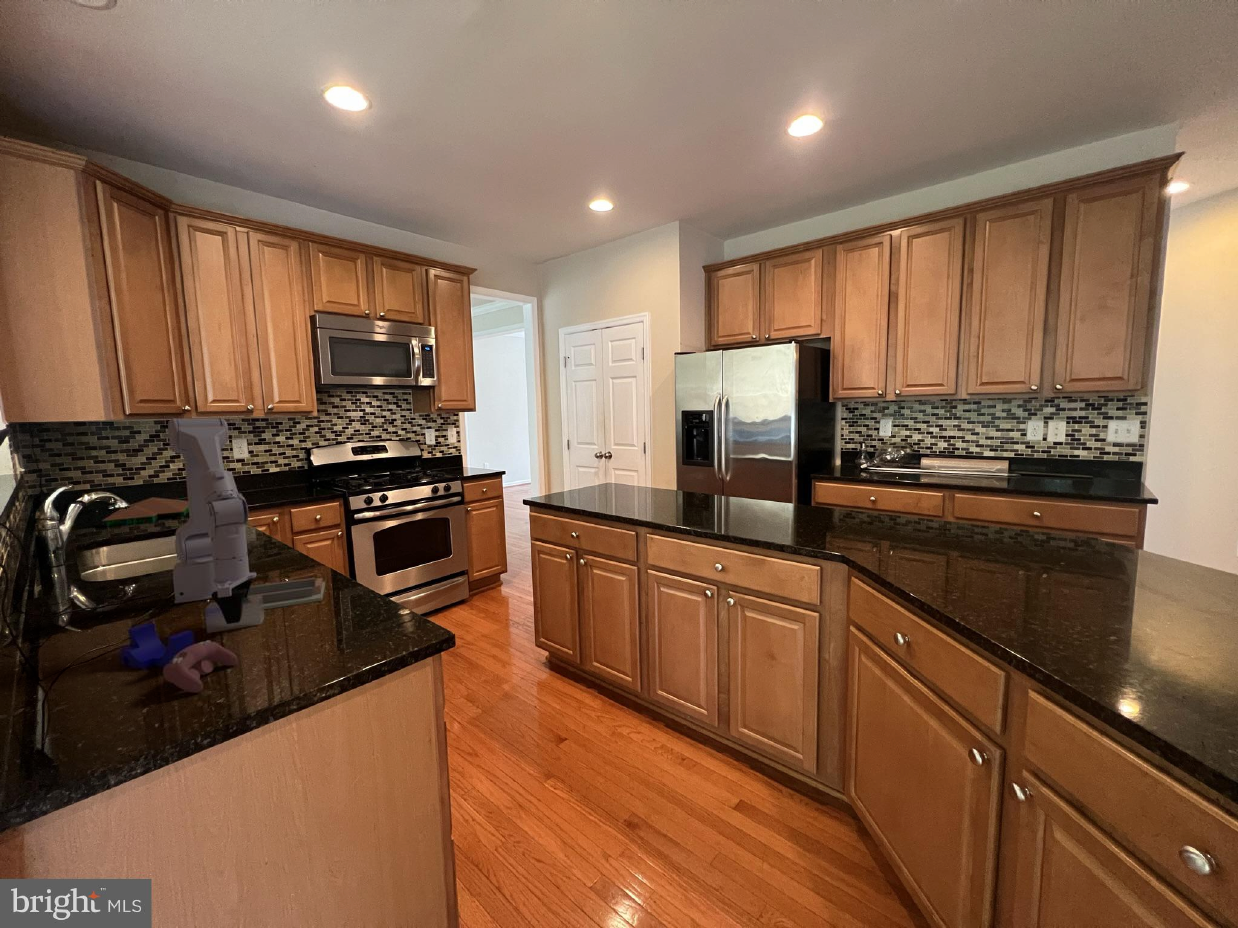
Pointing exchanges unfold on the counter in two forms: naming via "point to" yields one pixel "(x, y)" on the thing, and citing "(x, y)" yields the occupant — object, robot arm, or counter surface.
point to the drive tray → (289, 592)
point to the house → (148, 510)
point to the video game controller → (203, 657)
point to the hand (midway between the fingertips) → (236, 618)
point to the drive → (249, 615)
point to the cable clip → (152, 647)
